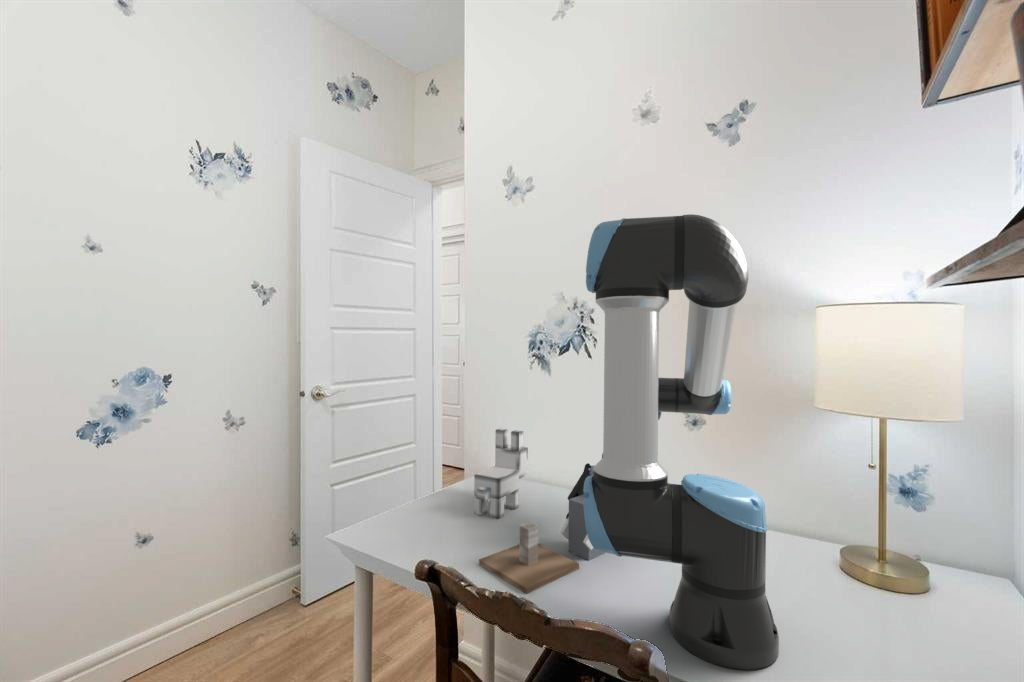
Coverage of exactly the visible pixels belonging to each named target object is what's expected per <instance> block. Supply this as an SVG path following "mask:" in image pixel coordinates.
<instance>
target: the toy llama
mask: <svg viewBox="0 0 1024 682" xmlns="http://www.w3.org/2000/svg"><path fill="white" fill-rule="evenodd" d="M524 433H525V432H524V430H516V429H515V430H511V432H510V444H509V430H508V428H501V427H500V428H497V429H495V440H494V441H495V443H494V444H495V451H494V452H495V454H494V455H495V459H494V461H495V466H492V467H490V468H487V469H485V470H482V471H480V472H477V473H476V474H474V475H473V476H474V480H473V483H474V486H473V487H474V488H473V489H474V494H473V495H474V496H473V498H474V501H473V503H474V504H473V505H474V506H473V511H474V512H473V514H474V513H476V515H479V514H480V516H484V515H486V514H488V510H489V509H490V511H489V513H490V516H489V517H490V518H491V517H492V518H491V519H495V518H496V519H495V520H500V519H502V518H503V517H504V516H505V509H507V510H508V509H509V510H513V511H515V510H516V509H518V508H519V500H520V498H519V496H520V493H519V492H520V490H519V485H520V483H519V482H520V481H519V480H520V479H522V478H524V477H525V476H528V475H529V474H528V473H529V472H528V469H529V468H528V467H529V466H528V465H529V458H528V457H529V456H528V454H529V451H528V450H529V449H528V447H525V446H524ZM488 499H489V501H488ZM488 502H489V505H490V508H489V509H488V507H489V505H488ZM483 514H484V515H483Z"/></svg>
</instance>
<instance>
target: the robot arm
mask: <svg viewBox="0 0 1024 682" xmlns="http://www.w3.org/2000/svg"><path fill="white" fill-rule="evenodd" d="M588 245H589V246H588V250H587V257H586V263H585V264H586V265H585V274H586V275H585V285H586V289H587V291H588V292H589V293H591V294H595V303H596V304H597V305H598V306H599V308H601V310H603V313H604V347H603V348H604V350H603V351H604V353H603V354H604V359H603V360H604V361H603V370H604V372H603V433H602V434H603V435H602V436H603V441H602V442H603V444H602V445H603V448H602V449H603V450H602V451H603V452H602V455H601V459H600V460H599V461H598V462H597V463H596V464H594V465H591V464H590V463H587V462H586V464H585V465H584V469H583V471H582V474H581V475H580V476H579V479H578V480H577V482H576V483H575V485H574V486H573V488H572V490H571V491H570V493H569V494H568V496H567V500H568V501H569V499H571V498H574V497H577V496H581V495H584V500H583V505H584V518H585V525H586V531H587V535H586V537H585V539H584V541H583V543H584V544H585V545H586V546H587V547H588V548H589V549H591V550H592V549H593V547H594V548H595V549H596V550H598V551H601V552H606V554H611V555H615V556H616V557H629V558H635V559H636V558H637V559H643V560H650V561H651V560H652V561H657V562H665V563H673V564H680V565H681V576H680V577H681V578H680V581H679V583H678V586H677V589H676V593H675V596H674V598H673V600H672V602H671V605H670V607H669V629H670V632H671V634H672V636H673V637H674V638H675V640H676V641H677V642H678V643H679V645H681V646H682V647H683V648H685V649H686V650H687V651H689V652H690V653H691V654H693V655H695V656H697V657H698V658H700V659H703V660H704V661H706V662H708V663H709V662H710V663H712V664H715V665H718V666H722V667H725V668H730V669H736V670H757V669H763V668H766V667H768V666H770V665H772V664H773V663H774V662H776V661H777V659H778V657H779V655H780V654H779V652H780V636H779V631H778V628H777V626H776V624H775V621H774V617H773V616H774V615H773V613H772V610H771V607H770V604H769V600H768V598H767V593H766V591H767V590H766V574H767V573H766V572H767V569H766V568H767V565H766V563H767V562H766V561H767V558H766V557H767V532H768V528H769V527H768V525H767V524H768V523H767V515H766V513H767V512H766V511H767V510H766V504H765V502H764V499H763V498H762V497H761V495H759V493H758V492H756V491H755V490H753V489H752V488H750V487H748V486H746V485H743V484H742V483H740V482H737V481H734V480H731V479H728V478H724V477H720V476H716V475H710V474H705V473H697V474H695V473H690V474H689V473H688V474H686V475H683V476H682V480H681V481H680V484H676V483H669V481H668V479H669V477H668V475H669V474H668V473H669V472H668V470H666V469H665V467H664V466H662V464H661V463H660V462H659V458H658V457H659V452H658V451H659V445H658V444H659V420H661V416H662V413H676V414H677V413H679V414H680V413H682V414H697V415H707V416H711V415H726V414H728V413H730V411H731V408H732V386H731V383H730V381H729V380H727V379H724V377H725V372H726V366H727V360H728V355H729V349H730V344H731V339H732V333H733V328H734V323H735V316H736V310H737V306H738V304H739V303H740V302H741V301H742V300H744V299H745V296H746V294H747V288H748V283H749V267H748V262H747V259H746V255H745V253H744V251H743V248H742V247H741V245H740V244H739V242H738V240H737V239H736V238H735V237H734V235H733V234H732V233H731V232H730V231H729V230H728V229H727V228H726V227H724V225H723V224H721V223H720V222H718V221H716V220H714V219H712V218H709V217H706V216H703V215H700V214H692V213H691V214H683V215H672V216H654V217H652V216H651V217H649V216H648V217H636V218H635V217H633V218H632V217H631V218H630V217H629V218H626V217H623V218H621V219H617V220H609V221H608V220H607V221H603V222H600V223H599V224H597V226H595V228H594V230H593V232H592V234H591V237H590V241H589V244H588ZM670 291H683V292H684V296H685V297H686V299H687V300H688V301H689V302H688V303H689V304H688V317H687V330H686V331H687V332H686V343H685V347H686V348H685V358H684V371H683V372H684V373H683V374H684V375H683V378H679V377H677V378H676V377H659V355H660V353H659V350H660V349H659V344H660V343H659V342H660V341H659V340H660V339H659V337H660V334H659V331H660V328H659V327H660V326H659V325H660V324H659V321H660V318H659V317H660V312H661V310H662V309H663V308H664V307H665V306H666V305H667V304H668V303H669V302H670ZM565 519H566V521H565V522H564V524H563V526H562V528H561V530H560V534H561V535H562V536H563V537H564V538H565V539H567V540H568V539H569V511H568V512H567V514H566V517H565Z"/></svg>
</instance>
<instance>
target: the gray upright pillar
mask: <svg viewBox="0 0 1024 682" xmlns="http://www.w3.org/2000/svg"><path fill="white" fill-rule="evenodd" d="M583 500H584V495H581V496H577V497H574V498H571V499H569V500H568V512H569V539H567V540H568V542H567V543H568V544H567V545H568V549H567V550H568V552H570V553H572V554H574V555H576V556H578V557H581V558H583V559H585V560H587V561H591V560H593V559H595V558H598V557H600V556H601V555H604V554H605V553H606V552H601V551H598V550H596V549H595V548H594V547H593V549H592V550H591V549H589V548H588V547H587V546H586V545H585V544H584V543H583V541H584V539H585V537H586V535H587V531H586V525H585V518H584V505H583ZM603 553H604V554H603ZM606 554H607V553H606ZM590 559H591V560H590Z"/></svg>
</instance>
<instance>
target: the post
mask: <svg viewBox="0 0 1024 682" xmlns="http://www.w3.org/2000/svg"><path fill="white" fill-rule="evenodd" d="M478 563H479V565H480V566H481V567H483V568H484V569H486V570H488V571H489V572H491V573H492V574H494V575H495V576H497V577H498V578H500V579H502V580H503V581H505V582H507V583H508V584H510V585H511V586H513V587H514V588H515V589H518V590H519V591H521V592H523V593H524V594H529V593H532V592H533V591H535V590H537V589H540V588H541V587H543V586H546V585H548V584H550V583H552V582H554V581H557V580H559V579H560V578H562V577H565V576H567V575H570V574H571V573H573V572H575V571H577V570H579V569H580V563H578V562H576V561H575V560H572V559H570V558H569V557H567V556H564V555H562V554H560V553H559V552H556V551H554V550H552V549H550V548H548V547H546V546H544V545H542V544H540V543H539V526H538V525H536V524H533V523H532V522H527V523H524V524H521V525H519V543H518V544H516V545H513V546H511V547H508V548H505V549H504V550H500V551H497V552H495V553H492V554H490V555H487V556H485V557H483V558H482V557H481V558H479V560H478Z"/></svg>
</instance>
